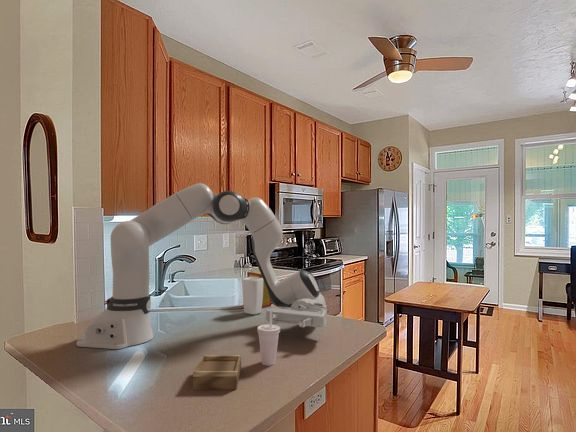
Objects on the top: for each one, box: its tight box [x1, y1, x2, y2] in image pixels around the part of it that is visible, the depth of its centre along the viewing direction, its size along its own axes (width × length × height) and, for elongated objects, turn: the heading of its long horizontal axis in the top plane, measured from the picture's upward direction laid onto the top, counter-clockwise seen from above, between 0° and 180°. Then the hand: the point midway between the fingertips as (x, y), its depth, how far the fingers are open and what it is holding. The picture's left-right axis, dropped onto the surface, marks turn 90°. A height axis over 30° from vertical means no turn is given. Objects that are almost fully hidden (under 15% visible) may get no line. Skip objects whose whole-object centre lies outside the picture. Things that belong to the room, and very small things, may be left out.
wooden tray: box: [192, 354, 242, 391], centre depth 84 cm, size 10×10×4 cm
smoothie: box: [256, 312, 281, 367], centre depth 94 cm, size 6×6×14 cm
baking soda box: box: [247, 270, 272, 309], centre depth 160 cm, size 10×6×16 cm
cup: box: [242, 277, 263, 316], centre depth 146 cm, size 7×7×15 cm
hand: (287, 322), depth 105 cm, fingers open, 8 cm apart
